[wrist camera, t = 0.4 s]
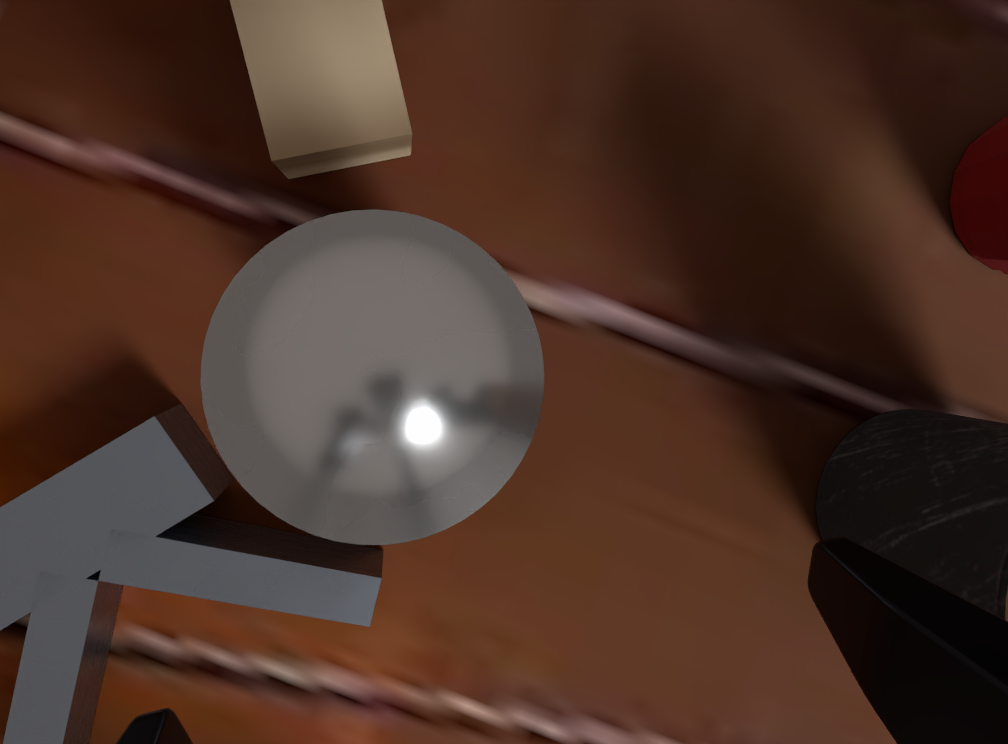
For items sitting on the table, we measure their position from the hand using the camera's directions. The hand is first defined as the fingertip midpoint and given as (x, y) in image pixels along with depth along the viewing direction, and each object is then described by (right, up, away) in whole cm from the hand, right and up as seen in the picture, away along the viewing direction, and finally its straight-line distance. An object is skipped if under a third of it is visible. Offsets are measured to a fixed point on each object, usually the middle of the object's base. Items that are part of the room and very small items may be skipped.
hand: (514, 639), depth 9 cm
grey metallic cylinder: (-4, +5, +14) cm, 15 cm away
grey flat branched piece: (-12, -3, +13) cm, 18 cm away
